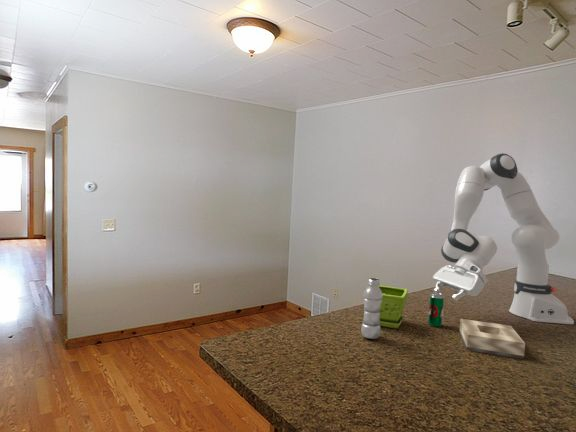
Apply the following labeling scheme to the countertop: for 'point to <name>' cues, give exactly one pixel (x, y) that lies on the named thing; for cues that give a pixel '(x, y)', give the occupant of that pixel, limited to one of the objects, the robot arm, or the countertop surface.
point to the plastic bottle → (372, 310)
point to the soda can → (436, 309)
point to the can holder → (491, 338)
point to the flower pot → (392, 306)
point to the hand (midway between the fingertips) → (444, 295)
